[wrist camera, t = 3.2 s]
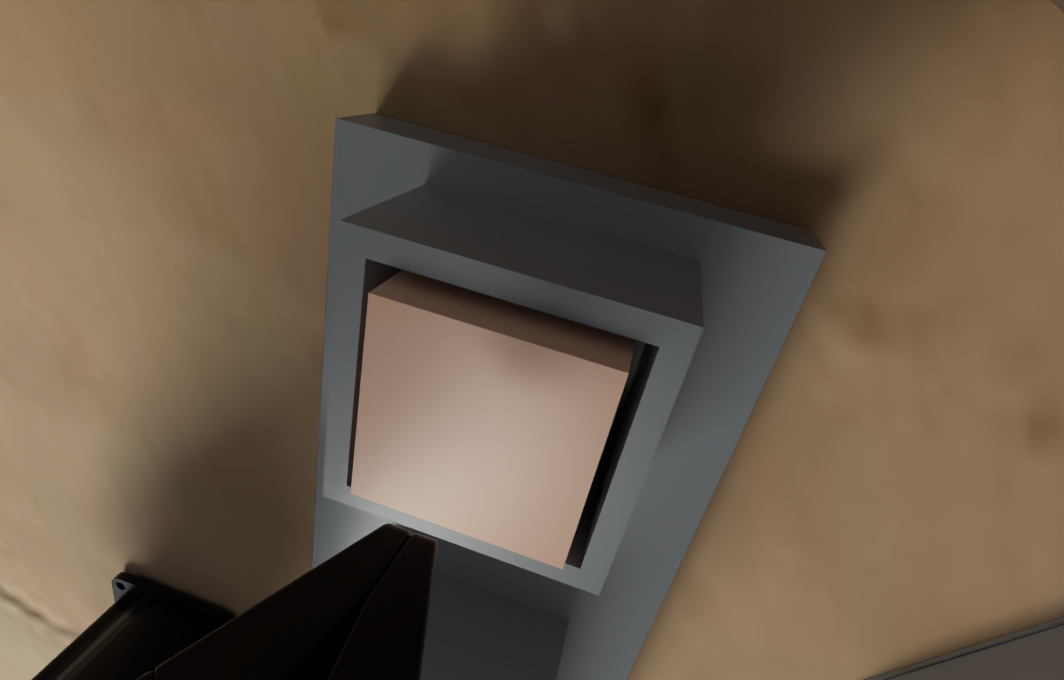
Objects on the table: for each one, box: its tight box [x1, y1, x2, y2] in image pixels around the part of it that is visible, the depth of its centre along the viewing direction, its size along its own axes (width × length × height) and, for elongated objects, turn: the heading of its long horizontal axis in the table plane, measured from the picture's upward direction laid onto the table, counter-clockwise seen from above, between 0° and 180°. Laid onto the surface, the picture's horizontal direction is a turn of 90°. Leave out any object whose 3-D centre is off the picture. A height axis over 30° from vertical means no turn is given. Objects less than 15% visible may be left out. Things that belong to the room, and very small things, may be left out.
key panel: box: [312, 113, 827, 680], centre depth 18 cm, size 12×22×6 cm, turn 168°
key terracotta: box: [351, 270, 636, 569], centre depth 13 cm, size 5×5×3 cm
